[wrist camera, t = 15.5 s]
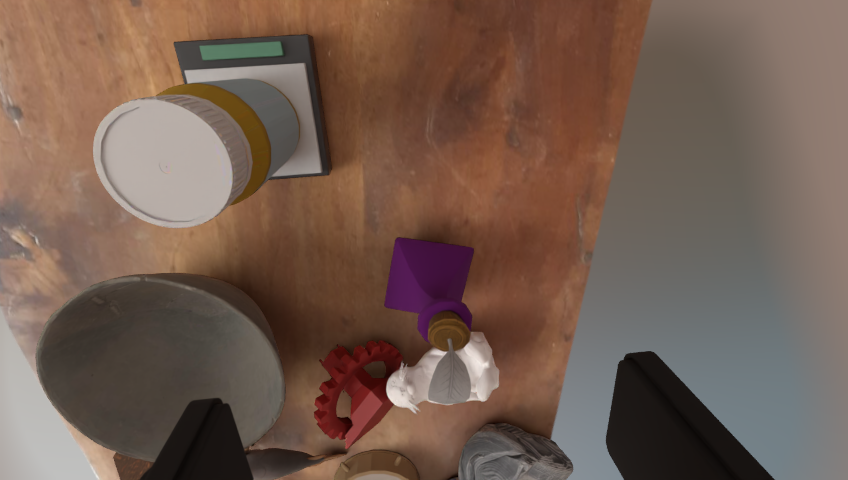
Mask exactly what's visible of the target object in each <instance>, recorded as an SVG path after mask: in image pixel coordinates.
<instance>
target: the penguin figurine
mask: <svg viewBox="0 0 848 480" xmlns="http://www.w3.org/2000/svg"><path fill="white" fill-rule="evenodd" d="M446 353H447V352H442V351H440V350H438V349H436V348H434V347H433V348H431V349H430V350H429V351H428V352H426V353H425V354H424V355H423V357H422V358H421V359H420V360H419V361H418V363H417V364H416V365H415V366H413V367H405V368H403V366H402V364H401V368H400V369H398V370H397V371H395V372H394V373H393V374H392V375H391V376H390V377H389V379H388V381H387V385H386V392H387V396H388V398H389V399H390V401H391V402H392V403H393V404H395V405H396V406H398V407H408V408H409V409H410V410H411V411H413V410H414V409H413V407H414V408H415V409H417V407H416V406H415V405H416V404H419V403H420V402H422V401H424V400H426V401H428V402H431V403H437V402H434V401H430V400H429V399H428V391H429V386H430V382H431V379H432V376H433V373H434V371H435V369H436V366H437V364H438V362H439V361H440V360H441V359H442V358H443V357H444V355H445V354H446ZM455 353H456V354H457V355H458V356H459V358H460V359H461V360H462V361H463V362H464V364H465V365H466V367H467V370H468V374H469V377H470V381H471V392H470V398H469V399H468V400H467V401H471V400H477V401H478V400H480V401H482V402H484V401H486V400H487V399H488V398H489V396H490V394H491V392H492V391H493V389H496V388H498V386H499V369H498V368H497V367H496V366H495V363H494V359H493V356H492V349H491V347H490V346H489V344H488V342H487V340H486V339H485V337H484V334H483V332H471V335H470V342H469V343H468V344H467V345H466V346H465V347H464V348H463V349H460V350H458V351H455ZM402 362H403V361H402ZM403 364H404V363H403ZM406 366H407V365H406ZM474 392H477V394H476V393H474ZM438 404H441V403H438ZM444 405H451V404H444ZM412 409H413V410H412ZM417 410H418V409H417ZM414 411H415V410H414ZM414 411H413V412H414ZM418 411H420V410H418ZM415 412H416V411H415ZM415 412H414V413H415ZM416 413H417V412H416ZM416 413H415V414H416Z"/></svg>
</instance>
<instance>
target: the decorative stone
mask: <svg viewBox="0 0 848 480" xmlns="http://www.w3.org/2000/svg"><path fill="white" fill-rule="evenodd" d="M572 472H573V465H572V462H571V461H570V459H569V458H568V457H567V456H566V455H565V454H564V452H563V451H562V450H561V449H560V448H559V447H558V446H557V444H556V443H555V442H554V441H552V440H549V439H547V438H545V437H543V436H540V435H535V434H530V433H526V432H525V431H523V430H522V429H521V428H518V427H515V426H512V425H510V424H507V423H498V424H495V425H494V424H487V425H485V426H484V427H482V428H481V429H480V430H479V431H478V432H477V433H475V434H474V435H473V436H472V437H471V438H470V439H469V440H468V441H467V443H466V444H465V446H464V448H463V450H462V453H461V457H460V460H459V471H458V478H459V480H566V479H567V478H568V477H569V475H570V474H571V473H572Z"/></svg>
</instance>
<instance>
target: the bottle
mask: <svg viewBox="0 0 848 480" xmlns="http://www.w3.org/2000/svg"><path fill="white" fill-rule="evenodd" d="M299 139H300V123H299V119H298V116H297V112H296V110H295V108H294V107H293V105H292V104H291V102H290V100H289V99H288V98H287V97H286V96H285V95H284V94H283V93H282V92H281V91H280V90H278V89H277V88H276V87H274V86H272V85H270V84H268V83H266V82H264V81H261V80H255V79H247V78H242V79H231V80H219V81H208V82H197V83H189V84H183V85H178V86H174V87H171V88H168V89H166V90H165V91H163V92H161V93H160V94H158V95H156V96H153V97H146V98H138V99H135V100H131V101H130V102H125V103H123V105H120V106H117V108H115V109H114V110H112V111H111V112H110V113H109V114H108V115H107V116H106V117H105V118H104V119H103V121H102V122H101V123H100V125H99V127H98V129H97V132H96V134H95V138H94V144H93V156H94V163H95V167H96V170H97V173H98V175H99V178H100V180H101V182H102V183H103V185H104V187H105V188H106V190H107V191H108V192H109V194H110V195H111V196H112V197H113V198H114V199H115V201H116V202H117V203H119V204H120V205H121V206H122V207H123V208H124V209H126V210H127V211H128V212H130V213H131V214H133V215H134V216H136V217H138V218H140V219H142V220H144V221H146V222H149V223H152V224H155V225H158V226H163V227H169V228H186V227H192V226H196V225H200V224H202V223H206V222H207V221H208V220H212V219H213V218H214V217H216V216H218V215H219V214H220V213H221V212H222V211H223V210H224V209H226V208H227V207H228V206H229V205H234V204H237V203H239V202H241V201H242V200H244V199H246V198H248V197H249V196H251V195H252V194H253V193H255V192H256V191H257V190H258V189H259V188H260V187H261V186H262V185H263V184H264V183H265V182H266V181H267V180H268V179H269V178H270V177H271V176H272V175H273V174H274V173H275V172H276V171H277V170H279V169H280V168H281V167H282V166H283V165H284V164H285V163H286V162H287V161H288V159H289V158H290V157H291V156H292V155H293V153H294V152H295V150H296V148H297V145H298V142H299Z"/></svg>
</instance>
